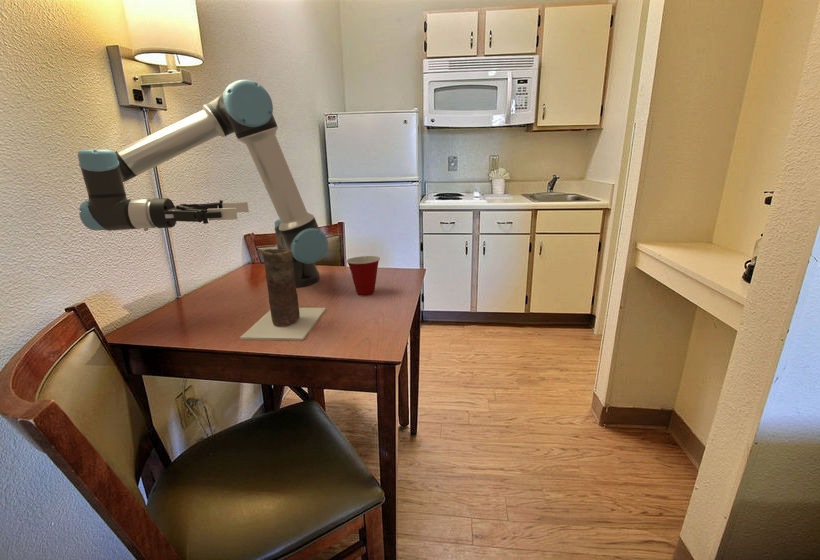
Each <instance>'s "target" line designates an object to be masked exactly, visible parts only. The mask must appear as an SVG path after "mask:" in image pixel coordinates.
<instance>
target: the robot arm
mask: <svg viewBox="0 0 820 560" xmlns="http://www.w3.org/2000/svg"><path fill="white" fill-rule="evenodd" d="M273 106H274V105H273V101H272V98H271V96H270V94H269V92H268V91H267V90H266V89H265V88H264V87H263V86H262V85H261V84H259V83H258V82H256V81H253V80H251V79H238V80H236V81H233V82H231V83H229V84H228V86H226V88H225V89H224V90H223V92H221V94H219V95H218V96H217V97H216V98H214V99H213V100H211V101H210V102H208V103H205V104H203V105H202V110H200V111H198V112H195V113H193V114H191V115H189V116H186V117H185V118H184V119H180V120H179V121H176V122H174V123H172V124H170V125H167V126H166V127H164V128H161V129H160V130H157V131H156V132H153V133H151V134H149V135H147V136H145V137H143V138H141V139H138V140H136V141H133V142H132V143H130V144H128V145H125V146H123V147H121V148H119V149H117V150H115V151H116V152H115V151H114V149H113V150H112V149H80V150H78V151H77V158H78V165H79V167H80V171H81V174H82V178H83V181H84V185H85V189H86V190H87V196H88V200H84V201H85V202H84V201H83V202H82V203H80V206H79V209H78V210H79V213H78V215H79V218H80V221H81V223H82V224H83V226H85V227H86V228H87V229H89V230H91V231H108V232H111V231H124V230H125V231H127V230H128V231H129V230H139V229H143V231H145V232H148V231H149V229H156V228H157V229H171V228H174V227H175V226H176V224H177V222H187V223H188V222H190V223H202V224H203V225H206V224H209V221H222V220H223V221H226V220H227V221H228V220H230V221H231V220H238V213H249V203H248V201H238V202H237V201H236V202H224V201H223V199H221V200H219V201H218V202H209V203H199V204H198V203H191V204H190V203H180V204H178V205H175V204H174V202H173V201H172V200H171V199H170V198H168V197H159V198H157V197H155V198H131V199H130V198H129V199H128V198H127V193H126V189H125V185H124V183H125V182H127V181H130V180H131V179H133V178H135V177H137V176H139V175H141V174H144V173H146V172H147V171H150V170H152V169H153V168H156V167H157V166H159V165H161V164H164V163H165V162H167V161H168V162H169V160H171V159H174V158H176V157H177V156H179V155H181V154H184V153H186V152H188V151H190V150H192V149H195V148H196V147H199V146H200V145H202V144H204V143H206V142H208V141H210V140H212V139H214V138H216V137H222V138H226V136H229V135H231V134H233V133H234V134H235V137H236V138H237V141H238V142H241V143H243V144H245V145H246V147H247V150H248V152H249V153H250V156H251V158H252V161H253V162H254V163H253V164H254V165H255V167H256V170H257V171H258V174H259V176H260V178H261V181H262V184H263V185H264V187H265V190H266V192H267V194H268V196H269V198H270V201H271V203H272V205H273V208H274V209H275V212H276V213H277V216H278V219H276V220H275V221H274V229H273V230H274V231H275V239H276V240H275V241H276V247H277V248H276V249H285V250H288V251H291V252H292V259H293V266H294V274H295V283H296V288H298V287H306V286H310V285H313V284H315V283H316V284H317V282H319V280H320V273H319V271H318V269H317V266H316V263H317V262H319V261H321V260H323V258H324V257H325V256H326V254H327V251H328V249H329V241H328V237H327V236H326V234H325V232H323V231H322V230H321V229H320V227H319V224H318V222H317V220H316V217H315V216H314V214H311V213H310V212H308V211H307V209H306V206H305V203H304V201H303V199H302V196H301V194H300V192H299V189H298V187H297V184H296V182H295V179H294V176H293V175H292V172H291V170H290V167H289V165H288V162H287V160H286V157H285V155H284V152H283V150H282V148H281V145H280V143H279V141H278V138H277V131H278V129H279V127H278V124H277V122H276V119H275V116H274V114H273V113H274V107H273ZM123 182H124V183H123ZM80 211H81V212H80Z"/></svg>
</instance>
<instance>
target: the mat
mask: <svg viewBox="0 0 820 560" xmlns="http://www.w3.org/2000/svg"><path fill="white" fill-rule="evenodd" d="M326 310H327V308H326V307H299V313H300V317H299V319H298V320H297V321H296V322H293V323H290V324H288V325H286V326H275V325H274V324H273V322H272V317H271V311H270V310H269V311H267V312H266V313H265V314H264V315H263V316H261V318H260V319H258V320H257V321H256V322H255V323H254V324H253V325H252V326H250V328H249V329H248V330H247V331H245V332H244V333H243V334H242V335H241V336H240V337H239V338H240V340H247V341H248V340H249V341H250V340H252V341H253V340H255V341H296V342H297V341H300V342H301V341H304V340H305V338H306V337H307V336H308V335H309V333H310V332H311V331H312V329H313V328H314V327H315V325H316V324H317V322H318V321H319V319H321V317H322V316H323V314H324V313H325V311H326Z"/></svg>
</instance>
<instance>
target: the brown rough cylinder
mask: <svg viewBox="0 0 820 560" xmlns="http://www.w3.org/2000/svg"><path fill="white" fill-rule="evenodd" d="M262 257H263V264H264V272H265V279H266V285H267V295H268V303H269V308H270V309H269V311H271V317H272V322H273V324H274V325H275V326H286V325H288V324H290V323H293V322H296V321H297V320H298V319H299V317H300V313H299V308H300V306H299V305H300V304H299V299H298V298H299V297H298V291H297V287H296V283H295V274H294V266H293V259H292V252H291V251H288V250H285V249H277V248H274V249H273V248H268V249H267V248H266V249H264V250H262Z"/></svg>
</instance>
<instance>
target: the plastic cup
mask: <svg viewBox="0 0 820 560" xmlns="http://www.w3.org/2000/svg"><path fill="white" fill-rule="evenodd" d="M380 259H381V258H380V256H376V255H364V256H355V257H351V258H348V259H347V260H346V263H347V265H348V266H349V270H350V273H351V277H352V281H353V285H354V288H355V289H354V290H355V292H356V295H358V296H360V295H361V297H364V296H365V297H367V296H368V295H369V296H371V295H374V294H373V293H375V289H376V283H377V274H378V267H379V261H380Z"/></svg>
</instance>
